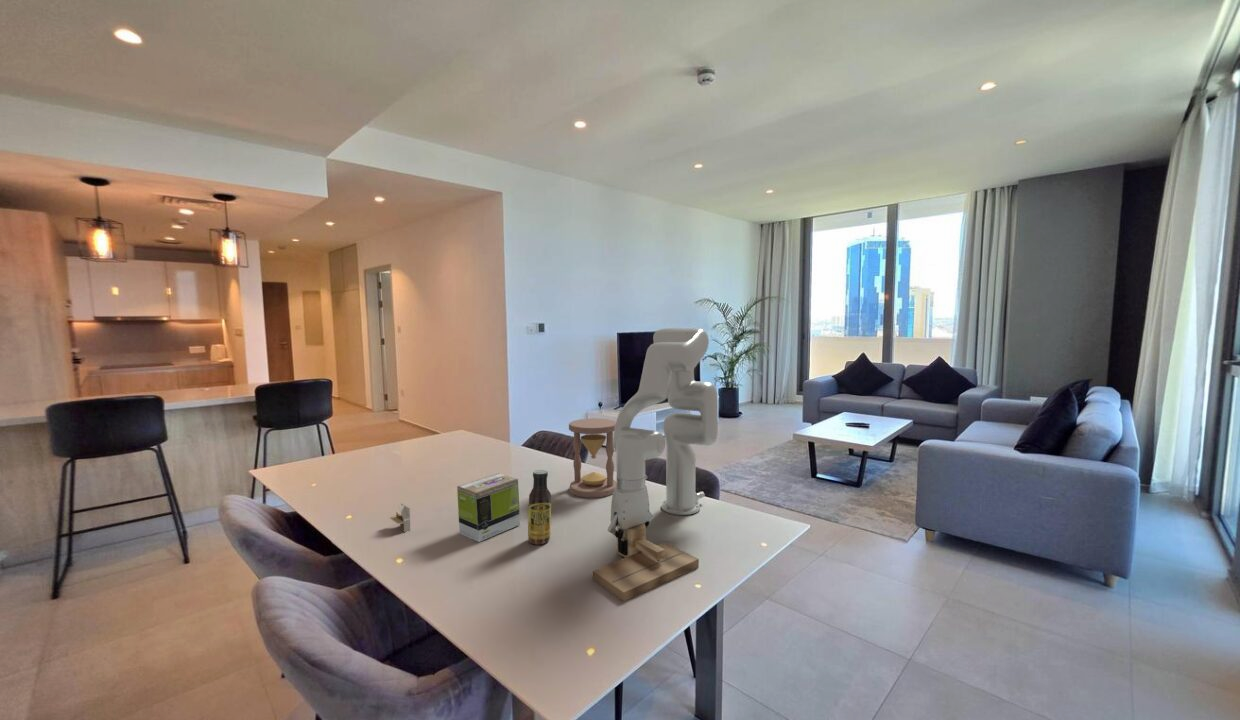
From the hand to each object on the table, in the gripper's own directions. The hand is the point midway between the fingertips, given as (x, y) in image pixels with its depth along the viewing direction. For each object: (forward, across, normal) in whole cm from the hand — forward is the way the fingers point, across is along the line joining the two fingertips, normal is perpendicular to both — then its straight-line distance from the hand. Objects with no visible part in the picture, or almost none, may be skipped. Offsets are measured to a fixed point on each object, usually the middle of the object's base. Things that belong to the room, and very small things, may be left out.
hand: (631, 549), depth 126 cm
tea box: (+2, +23, -39) cm, 45 cm away
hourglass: (+2, -21, -48) cm, 52 cm away
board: (+2, +3, +9) cm, 10 cm away
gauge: (+1, 0, +4) cm, 4 cm away
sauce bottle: (+2, +15, -23) cm, 27 cm away
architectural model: (+2, +43, -56) cm, 70 cm away
